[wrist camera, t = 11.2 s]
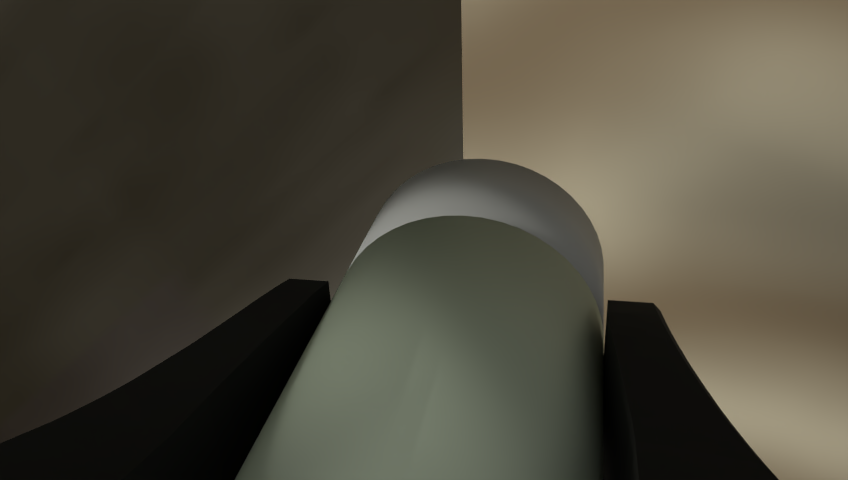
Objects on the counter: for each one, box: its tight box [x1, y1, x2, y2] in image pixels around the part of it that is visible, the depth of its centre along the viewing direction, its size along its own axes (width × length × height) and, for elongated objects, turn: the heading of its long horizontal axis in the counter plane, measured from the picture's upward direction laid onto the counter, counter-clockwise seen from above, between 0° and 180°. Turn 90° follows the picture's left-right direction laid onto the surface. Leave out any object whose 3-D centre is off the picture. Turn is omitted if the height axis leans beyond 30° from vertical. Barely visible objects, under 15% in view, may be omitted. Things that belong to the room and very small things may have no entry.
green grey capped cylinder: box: [235, 159, 604, 480], centre depth 11 cm, size 4×4×7 cm
